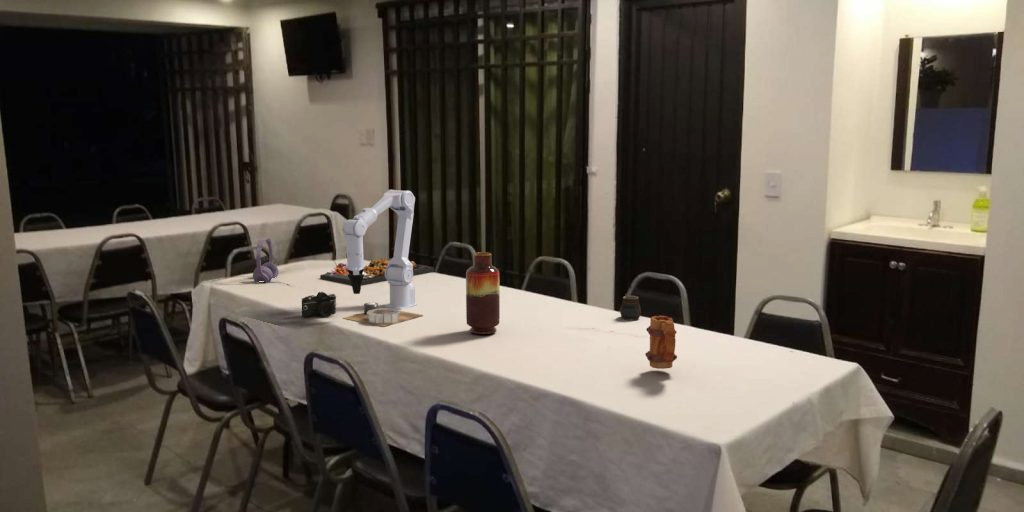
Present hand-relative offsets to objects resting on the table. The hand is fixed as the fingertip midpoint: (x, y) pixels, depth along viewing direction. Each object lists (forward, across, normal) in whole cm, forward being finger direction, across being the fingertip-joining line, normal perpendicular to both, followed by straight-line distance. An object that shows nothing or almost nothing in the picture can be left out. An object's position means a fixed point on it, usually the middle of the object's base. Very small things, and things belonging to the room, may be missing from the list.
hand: (356, 291), depth 292 cm
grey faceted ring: (+9, +8, +9) cm, 15 cm away
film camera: (+10, -4, -14) cm, 18 cm away
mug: (+10, +82, +82) cm, 117 cm away
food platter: (+11, -73, +10) cm, 74 cm away
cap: (+9, -4, +5) cm, 11 cm away
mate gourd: (+10, +22, +94) cm, 97 cm away
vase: (+10, +29, +41) cm, 51 cm away
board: (+10, +2, +9) cm, 13 cm away
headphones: (+10, -75, -38) cm, 84 cm away
